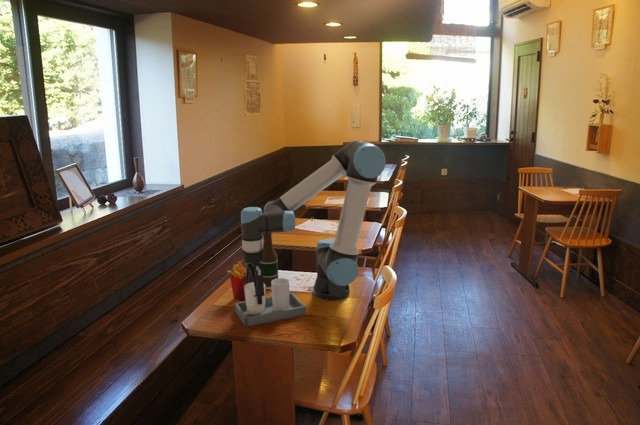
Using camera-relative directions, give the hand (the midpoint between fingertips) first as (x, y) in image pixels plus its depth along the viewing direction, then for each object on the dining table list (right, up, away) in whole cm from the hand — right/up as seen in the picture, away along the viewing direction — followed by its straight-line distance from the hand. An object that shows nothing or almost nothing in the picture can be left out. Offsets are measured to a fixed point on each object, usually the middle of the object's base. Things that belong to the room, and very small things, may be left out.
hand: (256, 306), depth 197 cm
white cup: (0, -2, 0) cm, 2 cm away
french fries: (-9, 0, +17) cm, 19 cm away
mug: (+10, -2, +5) cm, 11 cm away
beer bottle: (+2, +4, +31) cm, 32 cm away
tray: (+5, -3, +3) cm, 7 cm away
